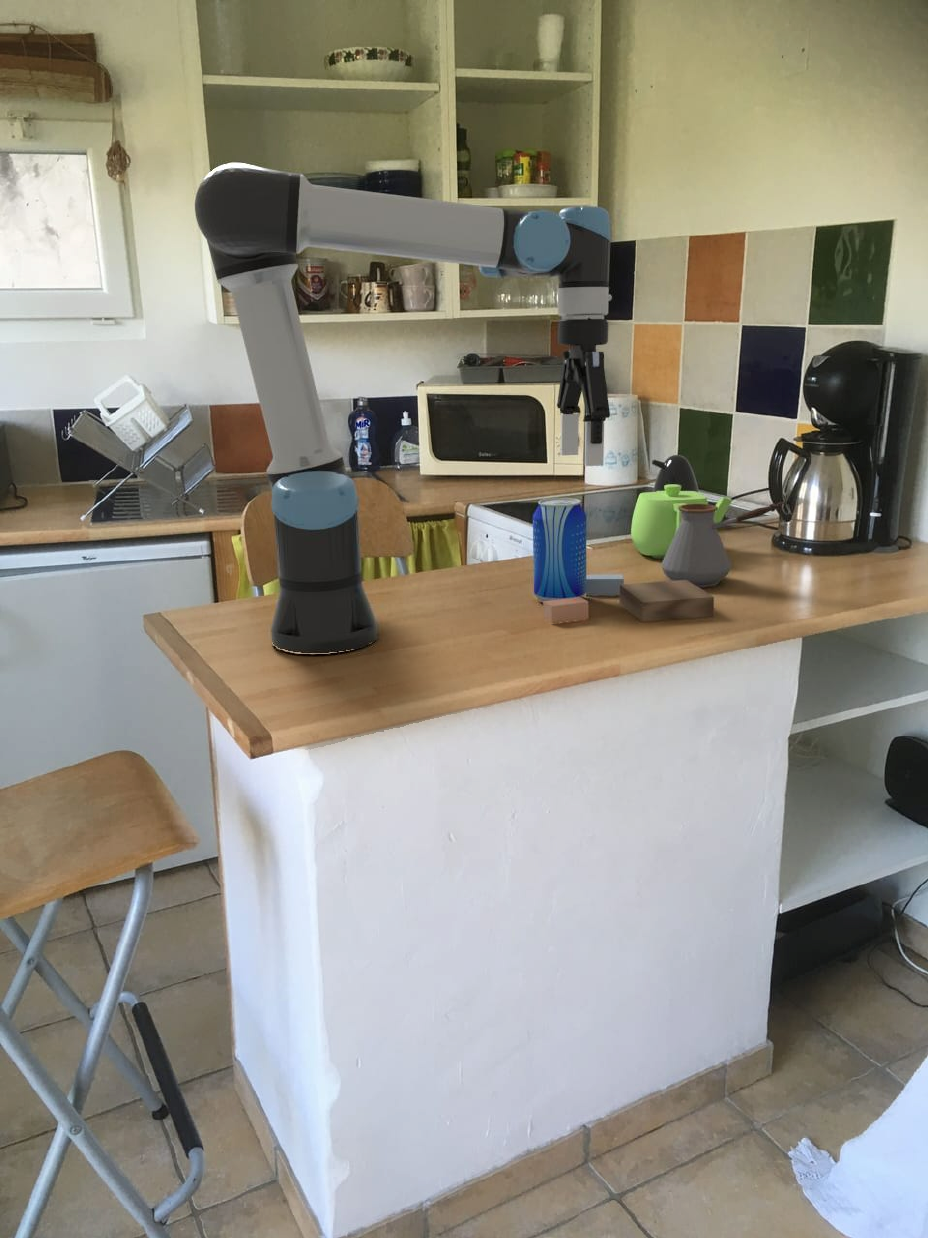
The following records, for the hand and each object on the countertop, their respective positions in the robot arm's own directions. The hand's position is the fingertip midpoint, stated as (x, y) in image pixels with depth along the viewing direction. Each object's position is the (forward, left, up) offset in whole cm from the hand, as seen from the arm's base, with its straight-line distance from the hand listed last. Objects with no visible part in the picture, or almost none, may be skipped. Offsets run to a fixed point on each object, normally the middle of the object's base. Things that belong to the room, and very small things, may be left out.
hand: (581, 460), depth 159 cm
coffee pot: (+24, 0, -22) cm, 33 cm away
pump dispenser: (+35, +51, -22) cm, 66 cm away
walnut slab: (+10, -11, -22) cm, 27 cm away
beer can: (-4, -1, -22) cm, 23 cm away
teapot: (+27, +26, -22) cm, 44 cm away
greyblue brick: (+4, +1, -22) cm, 23 cm away
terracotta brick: (-6, -12, -22) cm, 26 cm away
